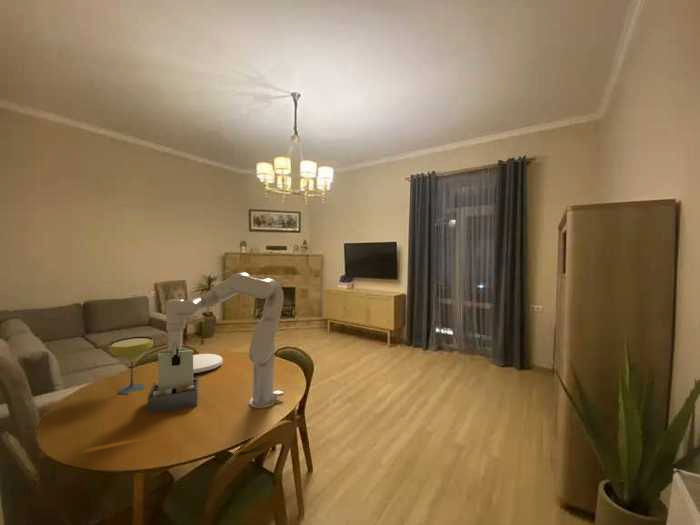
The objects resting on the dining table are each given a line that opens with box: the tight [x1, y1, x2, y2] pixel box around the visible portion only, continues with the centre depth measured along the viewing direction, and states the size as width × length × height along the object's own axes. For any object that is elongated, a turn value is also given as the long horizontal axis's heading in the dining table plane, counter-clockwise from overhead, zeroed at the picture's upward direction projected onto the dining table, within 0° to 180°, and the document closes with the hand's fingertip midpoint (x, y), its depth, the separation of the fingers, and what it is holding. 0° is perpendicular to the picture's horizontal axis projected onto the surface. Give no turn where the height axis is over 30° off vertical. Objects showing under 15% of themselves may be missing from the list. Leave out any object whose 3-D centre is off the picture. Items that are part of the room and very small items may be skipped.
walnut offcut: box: [176, 385, 194, 393], centre depth 133 cm, size 7×3×8 cm, turn 116°
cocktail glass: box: [108, 336, 154, 395], centre depth 148 cm, size 18×18×25 cm
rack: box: [147, 376, 200, 416], centre depth 134 cm, size 19×14×9 cm
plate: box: [193, 353, 224, 374], centre depth 178 cm, size 28×6×27 cm
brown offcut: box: [153, 388, 172, 397], centre depth 129 cm, size 7×3×8 cm, turn 115°
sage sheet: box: [157, 349, 194, 390], centre depth 135 cm, size 14×1×18 cm, turn 115°
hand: (176, 364), depth 135 cm, fingers closed on sage sheet, 1 cm apart
